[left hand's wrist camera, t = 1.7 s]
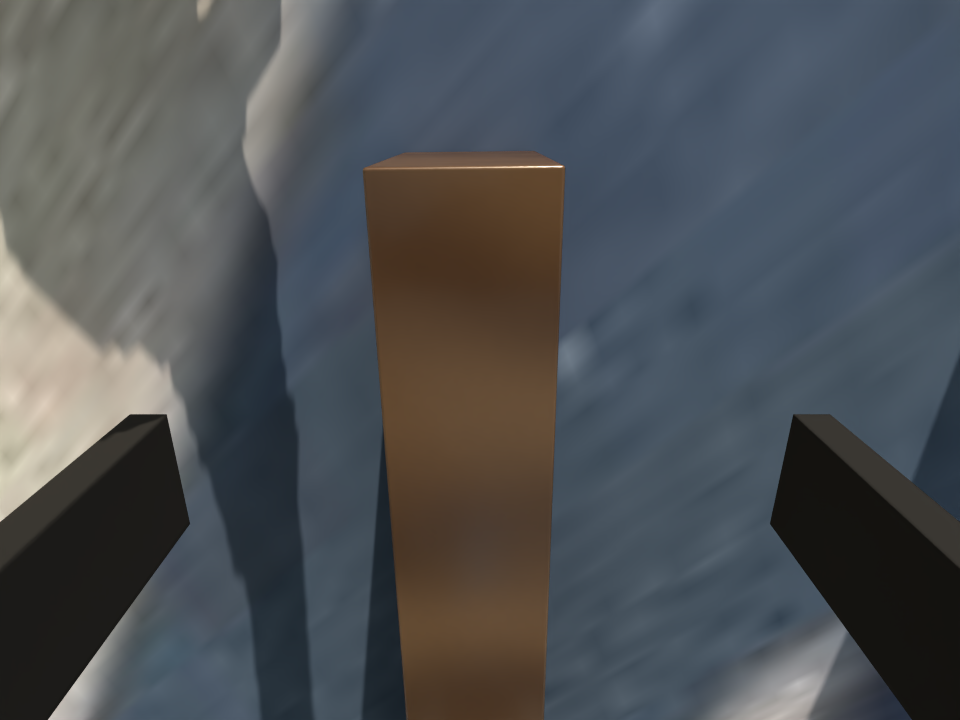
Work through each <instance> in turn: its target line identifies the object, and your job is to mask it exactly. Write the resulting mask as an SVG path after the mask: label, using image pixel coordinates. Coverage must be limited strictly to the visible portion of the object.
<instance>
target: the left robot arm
mask: <svg viewBox="0 0 960 720" xmlns="http://www.w3.org/2000/svg"><path fill="white" fill-rule="evenodd" d="M189 524H190V522H189V517H188V512H187V508H186V503H185V498H184V494H183V489H182V484H181V480H180V475H179V470H178V466H177V461H176V456H175V452H174V447H173V442H172V437H171V433H170V428H169V423H168V419H167V414H130V415H129V416H128V417H126V418H125V419H124V420H123V421H122V422H120V423H119V424H118V425H117V426H115V427H114V428H113V429H112V430H111V431H109V432H108V433H107V434H106V435H105V436H103V437H102V438H101V439H100V440H99V441H97V442H96V443H95V444H94V445H93V446H91V447H90V448H89V449H88V450H87V451H85V452H84V453H83V454H82V455H81V456H79V457H78V458H77V459H76V460H75V461H73V462H72V463H71V464H70V465H68V466H67V467H66V468H65V469H64V470H62V471H61V472H60V473H59V474H58V475H56V476H55V477H54V478H53V479H52V480H50V481H49V482H48V483H47V484H46V485H44V486H43V487H42V488H41V489H40V490H38V491H37V492H36V493H35V494H34V495H32V496H31V497H30V498H29V499H28V500H26V501H25V502H24V503H23V504H21V505H20V506H19V507H18V508H17V509H15V510H14V511H13V512H12V513H11V514H9V515H8V516H7V517H6V518H5V519H3V520H2V521H1V522H0V720H48V719H49V717H50V716H51V715H52V713H53V712H54V710H55V709H56V708H57V706H58V705H59V704H60V702H61V701H62V699H63V698H64V697H65V695H66V694H67V693H68V691H69V690H70V688H71V687H72V686H73V684H74V683H75V682H76V680H77V679H78V677H79V676H80V675H81V673H82V672H83V670H84V669H85V668H86V666H87V665H88V664H89V662H90V661H91V659H92V658H93V657H94V655H95V654H96V653H97V651H98V650H99V648H100V647H101V646H102V644H103V643H104V642H105V640H106V639H107V637H108V636H109V635H110V633H111V632H112V631H113V629H114V628H115V626H116V625H117V624H118V622H119V621H120V619H121V618H122V617H123V615H124V614H125V613H126V611H127V610H128V608H129V607H130V606H131V604H132V603H133V602H134V600H135V599H136V597H137V596H138V595H139V593H140V592H141V591H142V589H143V588H144V586H145V585H146V584H147V582H148V581H149V580H150V578H151V577H152V575H153V574H154V573H155V571H156V570H157V568H158V567H159V566H160V564H161V563H162V562H163V560H164V559H165V557H166V556H167V555H168V553H169V552H170V551H171V549H172V548H173V546H174V545H175V544H176V542H177V541H178V540H179V538H180V537H181V535H182V534H183V533H184V531H185V530H186V529H187V527H188V526H189ZM770 524H771V526H772V527H773V529H774V530H775V531H776V533H777V534H778V535H779V537H780V538H781V540H782V541H783V542H784V544H785V545H786V546H787V548H788V549H789V551H790V552H791V553H792V555H793V556H794V557H795V559H796V560H797V562H798V563H799V564H800V566H801V567H802V568H803V570H804V571H805V573H806V574H807V575H808V577H809V578H810V580H811V581H812V582H813V584H814V585H815V586H816V588H817V589H818V591H819V592H820V593H821V595H822V596H823V597H824V599H825V600H826V602H827V603H828V604H829V606H830V607H831V608H832V610H833V611H834V613H835V614H836V615H837V617H838V618H839V619H840V621H841V622H842V624H843V625H844V626H845V628H846V629H847V631H848V632H849V633H850V635H851V636H852V637H853V639H854V640H855V642H856V643H857V644H858V646H859V647H860V648H861V650H862V651H863V653H864V654H865V655H866V657H867V658H868V659H869V661H870V662H871V664H872V665H873V666H874V668H875V669H876V670H877V672H878V673H879V675H880V676H881V677H882V679H883V680H884V682H885V683H886V684H887V686H888V687H889V688H890V690H891V691H892V693H893V694H894V695H895V697H896V698H897V699H898V701H899V702H900V704H901V705H902V706H903V708H904V709H905V710H906V712H907V713H908V715H909V716H910V717H911V719H912V720H960V522H959V521H958V520H957V519H955V518H954V517H953V516H952V515H951V514H949V513H948V512H947V511H946V510H945V509H943V508H942V507H941V506H940V505H939V504H937V503H936V502H935V501H934V500H932V499H931V498H930V497H929V496H928V495H926V494H925V493H924V492H923V491H922V490H920V489H919V488H918V487H917V486H916V485H914V484H913V483H912V482H911V481H910V480H908V479H907V478H906V477H905V476H904V475H902V474H901V473H900V472H899V471H898V470H896V469H895V468H894V467H893V466H892V465H890V464H889V463H888V462H887V461H885V460H884V459H883V458H882V457H881V456H879V455H878V454H877V453H876V452H875V451H873V450H872V449H871V448H870V447H869V446H867V445H866V444H865V443H864V442H863V441H861V440H860V439H859V438H858V437H857V436H855V435H854V434H853V433H852V432H851V431H849V430H848V429H847V428H846V427H845V426H843V425H842V424H841V423H840V422H838V421H837V420H836V419H835V418H834V417H832V416H831V415H830V414H793V419H792V423H791V428H790V433H789V437H788V442H787V447H786V452H785V456H784V461H783V466H782V470H781V475H780V480H779V484H778V489H777V494H776V498H775V503H774V508H773V512H772V517H771V522H770Z"/></svg>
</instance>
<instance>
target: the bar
mask: <svg viewBox="0 0 960 720" xmlns="http://www.w3.org/2000/svg"><path fill="white" fill-rule="evenodd" d="M363 180H364V192H365V205H366V217H367V230H368V243H369V255H370V268H371V280H372V293H373V305H374V318H375V331H376V343H377V356H378V368H379V381H380V394H381V406H382V419H383V431H384V444H385V456H386V469H387V482H388V494H389V507H390V519H391V532H392V544H393V557H394V570H395V582H396V595H397V607H398V620H399V633H400V645H401V658H402V670H403V683H404V695H405V708H406V720H544V702H545V676H546V650H547V624H548V598H549V573H550V547H551V521H552V495H553V469H554V444H555V418H556V392H557V366H558V341H559V315H560V289H561V263H562V237H563V212H564V186H565V167H564V166H563V165H561V164H559V163H557V162H555V161H553V160H551V159H549V158H547V157H545V156H543V155H541V154H539V153H537V152H535V151H497V152H414V153H402V154H400V155H397V156H395V157H392V158H389V159H387V160H384V161H381V162H379V163H376V164H373V165H371V166H368V167H366V168H364V169H363Z"/></svg>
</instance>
